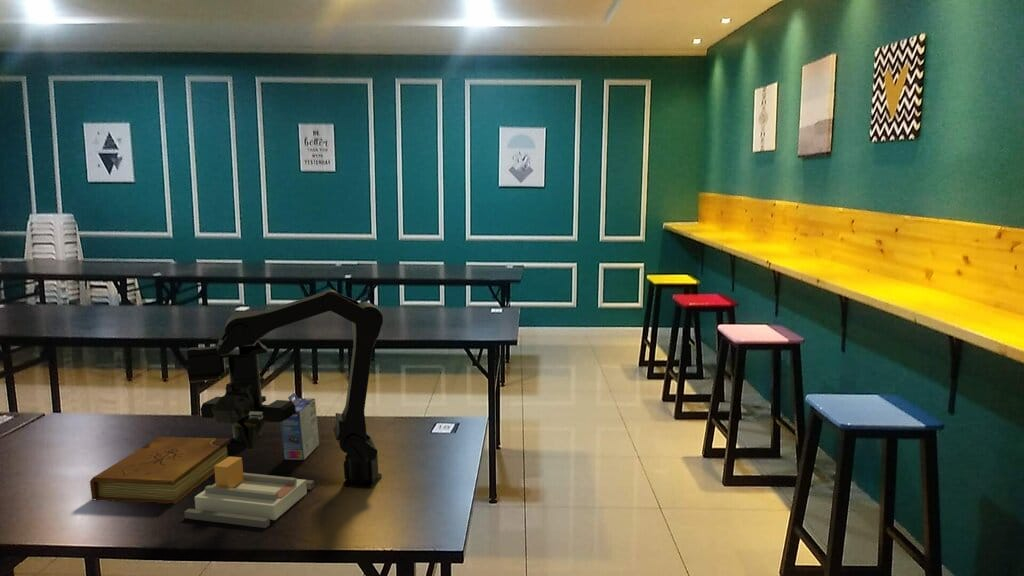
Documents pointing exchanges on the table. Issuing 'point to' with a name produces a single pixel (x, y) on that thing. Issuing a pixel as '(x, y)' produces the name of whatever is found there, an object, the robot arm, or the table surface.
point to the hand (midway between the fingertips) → (251, 448)
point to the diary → (160, 470)
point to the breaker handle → (229, 472)
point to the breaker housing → (253, 496)
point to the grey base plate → (233, 515)
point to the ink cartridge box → (300, 430)
